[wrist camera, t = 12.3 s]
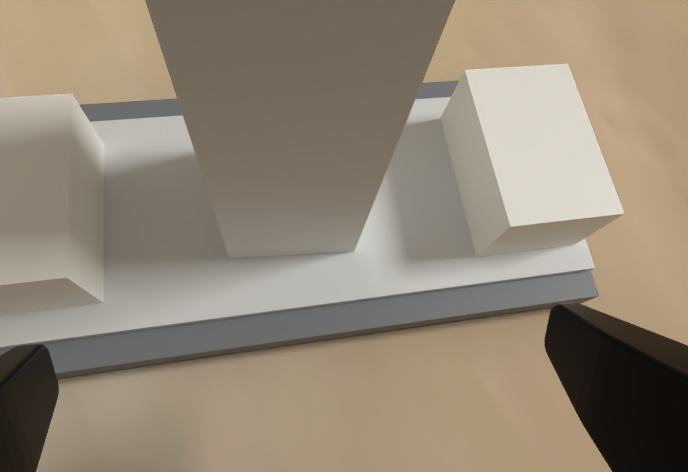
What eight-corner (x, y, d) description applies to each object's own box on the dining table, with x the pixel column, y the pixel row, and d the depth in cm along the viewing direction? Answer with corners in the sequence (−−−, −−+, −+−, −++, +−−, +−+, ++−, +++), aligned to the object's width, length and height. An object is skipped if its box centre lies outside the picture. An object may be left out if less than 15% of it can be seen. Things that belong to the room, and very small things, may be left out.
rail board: (581, 302, 20) (660, 270, 16) (-27, 391, 16) (-133, 378, 12) (513, 93, 23) (563, 20, 19) (-4, 128, 20) (-82, 49, 16)
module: (354, 251, 18) (497, -104, 6) (229, 258, 17) (106, -120, 5) (342, 140, 20) (435, -318, 8) (227, 143, 19) (127, -351, 7)
